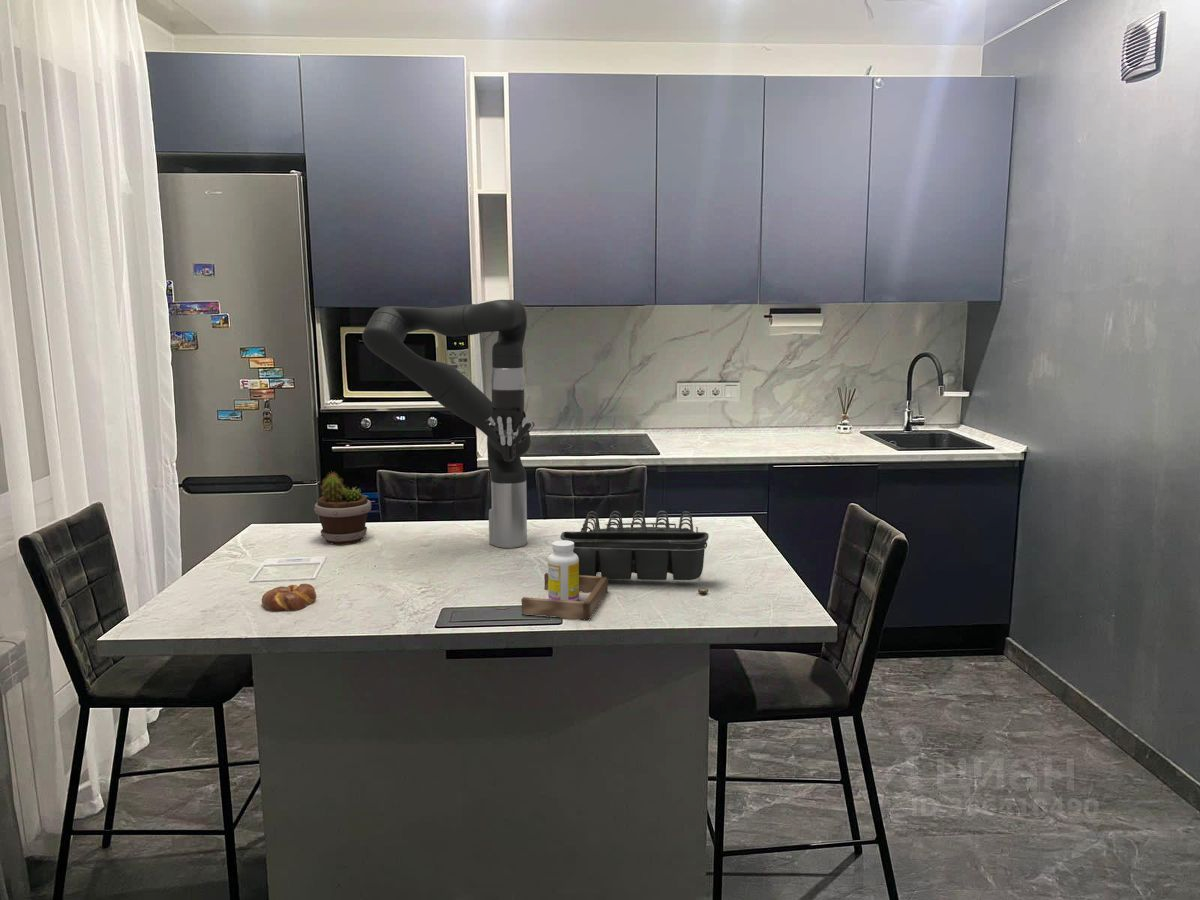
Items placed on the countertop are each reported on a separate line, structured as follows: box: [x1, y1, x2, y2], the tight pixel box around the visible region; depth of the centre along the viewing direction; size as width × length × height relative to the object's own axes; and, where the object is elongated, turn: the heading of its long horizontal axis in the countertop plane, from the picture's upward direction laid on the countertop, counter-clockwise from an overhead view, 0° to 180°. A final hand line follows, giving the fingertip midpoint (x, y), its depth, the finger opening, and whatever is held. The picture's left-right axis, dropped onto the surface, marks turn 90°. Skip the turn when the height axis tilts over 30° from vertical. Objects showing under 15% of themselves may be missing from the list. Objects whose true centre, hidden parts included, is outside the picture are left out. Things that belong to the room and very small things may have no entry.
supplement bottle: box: [547, 539, 580, 601], centre depth 192 cm, size 7×7×13 cm
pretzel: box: [261, 583, 317, 612], centre depth 191 cm, size 12×11×4 cm
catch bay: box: [521, 572, 608, 621], centre depth 191 cm, size 14×18×4 cm
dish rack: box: [559, 510, 710, 581], centre depth 222 cm, size 34×44×12 cm
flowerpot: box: [313, 470, 372, 546], centre depth 239 cm, size 14×15×20 cm
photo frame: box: [248, 555, 328, 584], centre depth 214 cm, size 15×1×18 cm
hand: (509, 460), depth 209 cm, fingers closed
